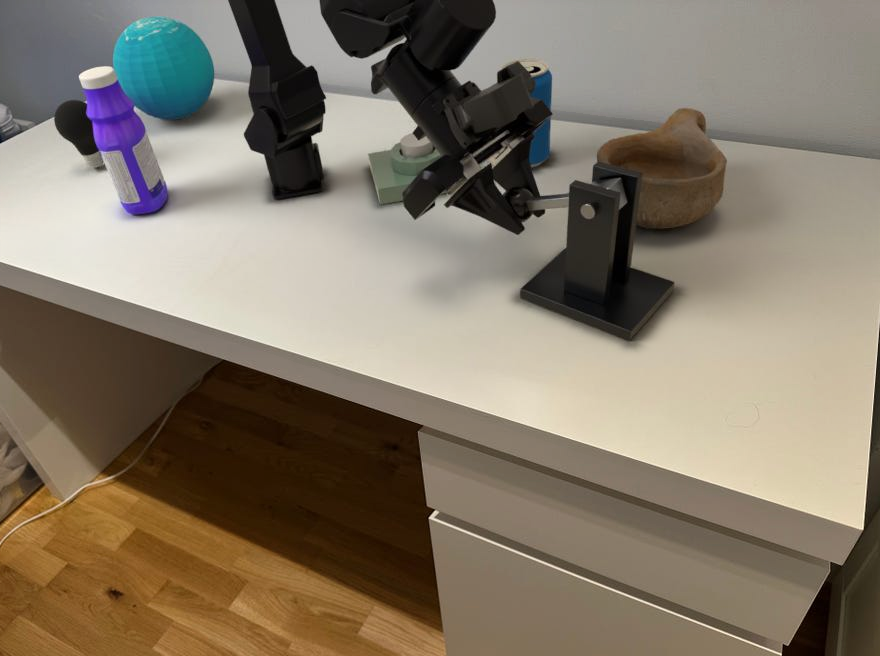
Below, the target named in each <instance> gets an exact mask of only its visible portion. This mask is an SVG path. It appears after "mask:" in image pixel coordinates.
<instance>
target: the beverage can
mask: <svg viewBox="0 0 880 656" xmlns="http://www.w3.org/2000/svg"><path fill="white" fill-rule="evenodd" d="M517 61H519V62H520V63H521V64H522V65H523V66H524V68H525V69H526V70H527V71H528V72H529V73H530V74H531V77H532V78H534V80H535V82H536V84H535V89H534V92H533V93H531V94H530V97H531V98H536V99H542V100H543V102H544V103H545V104H546V106H547V107H548V108H549V109H550V111H551V112H552V96H553V95H552V94H553V74H552V72H551V71H550V65H549V63H548V62H546V61H545V60H542V59H537V58H520V59H519V58H518V59H513V60H511V61H508V62H506V63H505V64H503V65H502V67H501V69H503V68H505V67H506V66H508V65H510V64H512V63H515V62H517ZM551 123H552V116H551V117H550V118H549V119H548V120H547V121H546V122H544V123H543V124H542V125H541V126H540V127H539V128H538V129H537V130H536V131H535V132H534V135H535V139H534V140H533V141H532V142H531V147H530V155H529V160H530V164H531V168H532V169H533V168H537V167H538V166H540V165H542V164H543V162H545V161H546V160H548V158H549V157H550V154H551V126H552V125H551Z"/></svg>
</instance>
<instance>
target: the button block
mask: <svg viewBox="0 0 880 656" xmlns="http://www.w3.org/2000/svg"><path fill="white" fill-rule="evenodd" d="M367 156H368V162H369V168H370V173H371V177H372V180H373V183H374V187H375V191H376V195H377V199H378V202H379V205H380V206H381V205H386V204H392V203H398V202H403V196H402V193H403V191H404V190H405V189H406V188H407V187H408V186H409V185H410V183H411V182H412V181H413V180H414V179H415V178H416V177H417V175H418V174H419V173H420V172H421V171H422V170H423V169H424V168H426V167H427V166H429V165H430V164H432V163H433V162H435V161H436V160H438V159H439V158H441V157H442V156H441V155H440V153H439V152H438V151H437V150H436V148H435V147H434V146H433V153H432V154H430V155H428V156H425V157H420V158H406V157H404V156H403V155H402V150H401V142H400V141H399V142H397V143H395V144H394V145H393V147H392V148H391V149H388V150H380V151H376V152H371V153H367ZM443 194H447V193H446V190H445V191H444V192H443V193H442V194H441V195H443Z"/></svg>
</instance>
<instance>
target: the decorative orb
mask: <svg viewBox="0 0 880 656" xmlns="http://www.w3.org/2000/svg"><path fill="white" fill-rule="evenodd" d="M112 66H113V69H114V71H115V74H116V76H117V78H118V81H119V83H120V86H121V88H122V89H123V91H124V93H125V94H126V95H127V96H128V97H129V98H130V99H131V100H132V101H133V102H134V108H136V109H138V110H139V111H141V112H143V113H144V114H146V115H148V116H150V117H152V118H155V119H161V120H164V121H165V120H166V121H174V120H176V121H177V120H182V119H184V118H187V117H190V116H191V115H193V114H196V112H198V111H199V110H200V109H201V108H202V107H203V106H204V105H205V104H206V103H207V101H208V100H209V98H210V97H211V96H210V95H211V93H212V90H213V86H214V84H215V66H214V61H213V58H212V55H211V53H210V50H209V49H208V47H207V45H206V44H205V42H204V41H203V40H202V38H201V37H200V35H199V34H198V33H197V32H195V30H194V29H193V28H191V27H189V26H188V25H187V24H186V23H183V22H181V21H180V20H176V19H174V18H171V17H167V16H166V17H165V16H158V15H157V16H155V15H154V16H148V17H143V18H141V19H138V20H136V21H134V22H133V23H131V24H130V25H128V26H127V27H126V28H125V30H123V32H122V33H121V34H120V36H119V37H118V39H117V40H116V44H115V46H114V49H113V55H112Z"/></svg>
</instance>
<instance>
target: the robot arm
mask: <svg viewBox="0 0 880 656" xmlns="http://www.w3.org/2000/svg"><path fill="white" fill-rule="evenodd" d="M227 1H228V3H229V8H230V9H231V10H230V11H231V12H232V15H233V18H234V20H235V24H236V26H237V29H238V31H239V34H240V37H241V40H242V42H243V45H244V48H245V51H246V54H247V57H248V60H249V63H250V65H251V70H250V77H249V83H248V91H247V95H248V99H249V103H250V106H251V109H252V113H253V115H252V117H251V118H250V121H249V123H248V125H247V126H246V128H245V130H244V132H243V137H244V139H245V141H246V143H247V145H248V147H249V150H250V151H251V152H255V153H258V154H261V155H263V157H264V161H265V164H266V168H267V171H268V175H269V180H270V183H271V192H272V193H271V194H272V195H271V196H272V199H274V200H280V199H285V198H291V197H297V196H302V195H309V194H314V193H320V192H322V191H323V181H324V180H325V173H324V168H323V163H322V158H321V154H320V149H319V144H318V143H317V142H313V139H312V138H313V137H314V136H315V135H317V134H320V133H322V132H323V129H324V116H325V114H326V103H325V100H327V96H326V94H325V93H324V91H323V89H322V86H321V83H320V79H319V72H318V71H317V69H316V68H315V66H314V65H309V66H306V65H305V63H303V62H302V61H301V60H300V59H299V58H298V57H297V56H296V55H295V54H294V53H293V51H292V48H291V45H290V44H291V43H290V41H289V39H288V35H287V33H286V32H287V31H286V30H285V27H284V26H285V25H284V24H283V21H282V17H281V15H280V12H279V8H278V5H277V2H276V0H227ZM319 9H320V15H321V16H322V18H323V20H324V22H325V24H326V26H327V28H328V29H329V31H330V33H331V34H332V36H333V38H334V40H335V42H336V44H337V45H338V46H339V48H340V49H341V50H342V51H343V52H344V54H346V55H347V56H348V57H349V58H356V59H361V60H362V59H366V58H370V57H371V56H374V55H375V54H377V53H380V52H381V51H383V50H385V49H387V48H389V47H392V46H393V45H394V46H393V47H392V48H391V49H390V50H389V52H388V53H387V55H386V57H385V58H383V59H381V60H379V61H378V62H377V61H376V62H375V63H373V64H372V65H371V66H370V69H371V81H370V90H371V91H370V92H371V93H372V94H373V95H378V94H379V93H382V92H383V91H385V90H389V91H390V92H391V94H392V95H393V96H394V98H395V99H396V100H397V101H398V103H399V104H400V106H402V107H403V109H404V110H405V112H406V113H407V114H408V115H409V116H410V118H411V119H412V120H413V122H414V123H415V125H416V127H415V129H414V130H413V131H412V133H413V134H414V136H415V137H416V138H417V139H418V141H419V140H421V139H422V138H424V137H425V136H426V137H427V138H428V139H429V141H430V142H431V143H432V145H433V146H434V147H435V148H436V150H437V151H438V152H439V153H440V155H441V156H442V157H441V158H439V159H438V160H436V161H435V162H433V163H432V164H430V165H429V166H427V167H426V168H424V169H423V170H422V171H421V172H420V173H419V174H418V175H417V177H416V178H415V179H414V180H413V181H412V182H411V183H410V185H409V186H408V187H407V188H406V189H405V190H404V191H403V193H402V196H403V201H402V202H403V207H404V209H405V210H406V211H407V212H408V214H409V215H410V216H411V218H412V219H413V220H414V221H417V220H418V219H419V218H421V217H423V216H424V215H425V214H427V213H428V212H429V211H431V210H432V209H433V208H434V207H435V206H436V201H437V199H438V198H439V197H440V196H441V195H443V194H442V193H443V192H444V191H445V190H446V193H445V194H446V195H447V196H448V197H449V198H448V200H447V201H445V202H444V204H443V206H444V207H445V208H446V209H450V207H454V208H457V209H460V210H462V211H465V212H467V213H470V214H472V215H474V216H477V217H480V218H482V219H484V220H486V221H488V222H490V223H492V224H494V225H496V226H498V227H500V228H501V229H504V230H506V231H508V232H510V233H512V234H513V235H517V236H518V235H519V236H520V234H522V233H523V232H524V231H525V230H526V227H525V226H524V223H522V222H521V220H520V219H519V217H518V216H517V214H516V213H515V211H514V210H513V209H512V207H511V206H510V205H509V203H508V202H507V200H506V199H505V198H504V196H503V193H502V192H501V191H500V189H499V188H498V187H497V185H496V184H498V185H499V186H500V187H502V189H503V190H504V191H507V190H508V189H510V188H512V187H524V188H526V189H528V190H529V191H530V192H531V193H532V194H533V196H534V197H537V196H541V194H540V190H539V188H538V184H537V181H536V178H535V176H534V172H533V168H531V164H530V160H529V155H530V147H531V142H532V141H533V140H534V139H535V135H534V132H535V131H536V130H537V129H538V128H539V127H540V126H541V125H542V124H543V123H544V122H546V121H547V120H548V119H549V118H550V117H551V118H552V116H553V112H552V110H551V111H550V109H549V108H548V107H547V106H546V104H545V103H544V102H543V100H542V99H536V98H531V97H530V94H531V93H533V92H534V89H535V84H536V82H535V80H534V78H532V77H531V74H530V73H529V72H528V71H527V70H526V69H525V68H524V66H523V65H522V64H521V63H520V62H519V61H517V62H515V63H512V64H510V65H508V66H506V67H505V68H503V69H502V68H501V69H500V70H498V71H497V72H496V83H494V84H492V85H490V86H489V87H487V88H484V89H482V90H481V88H479V86H478V85H477V84H476V83H475V82H473V81H471V80H468V81H466V82H464V83H462V84H461V82H460V81H459V79H458V78H457V77H456V76H455V75H454V73H453V72H452V71H454V70H456V69H459V68H460V67H461V66H462V65H463V63H465V61H466V60H467V58H468V56H470V54H471V53H472V51H473V50H474V49H475V47H476V46H477V45H478V44H479V43H480V41H481V40H482V38H483V37H484V36H485V35H486V33H487V32H488V31H489V29H490V28H491V27H492V26H493V24H494V23H495V21H496V17H497V10H496V5H495V2H494V0H319ZM404 39H405V40H404ZM403 40H404V42H401V41H403ZM400 42H401V43H400ZM397 43H398V44H397ZM487 161H488V162H489V163H488V164H487V165H486V166H484V167H483V168H482V167H481V165H482V164H484V163H485V162H487ZM495 182H496V184H495ZM544 214H546V209H542V210H535V211H534V213H533V215H532V216H534V217H536V218H537V219H539V218H541V217H542V216H544Z"/></svg>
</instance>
